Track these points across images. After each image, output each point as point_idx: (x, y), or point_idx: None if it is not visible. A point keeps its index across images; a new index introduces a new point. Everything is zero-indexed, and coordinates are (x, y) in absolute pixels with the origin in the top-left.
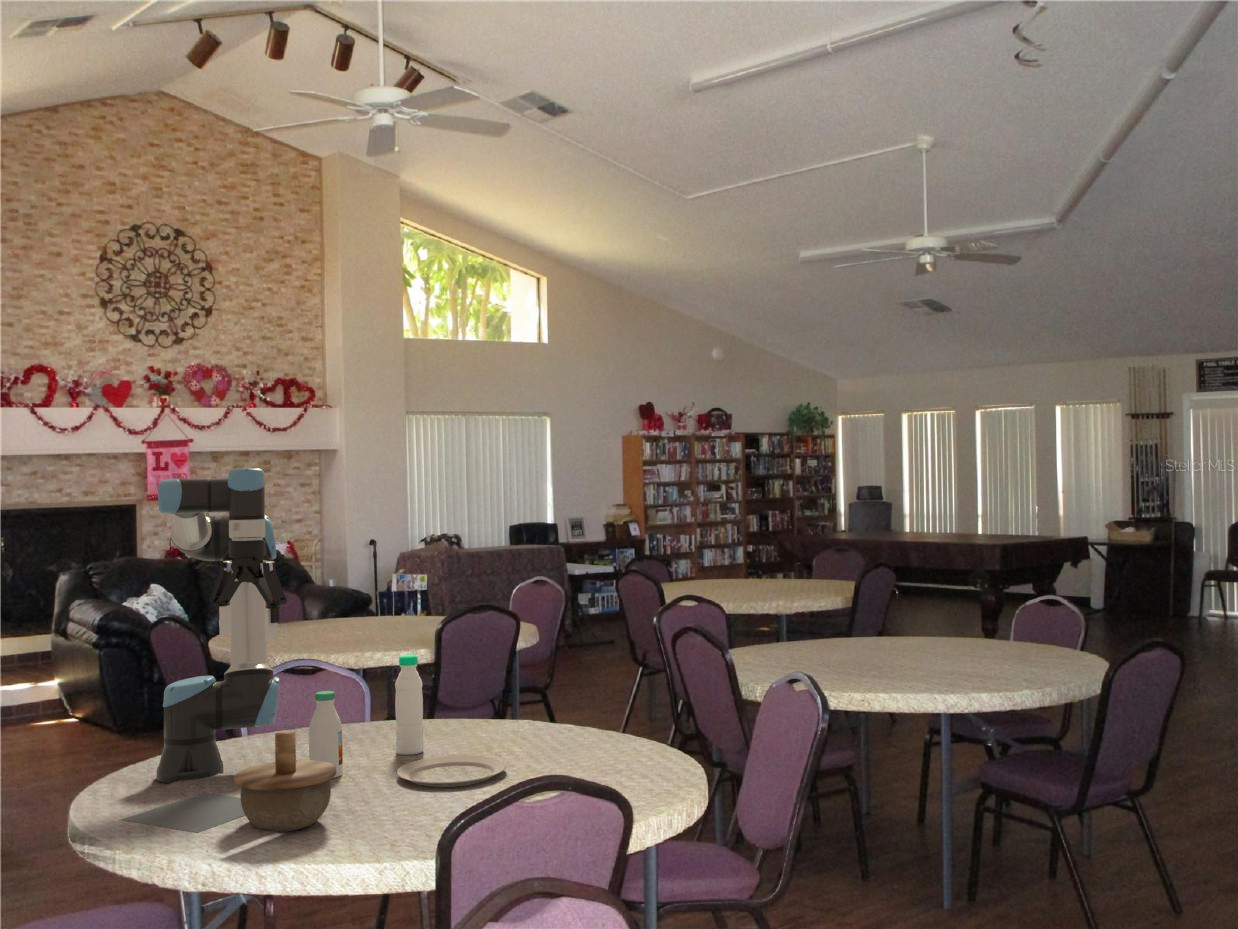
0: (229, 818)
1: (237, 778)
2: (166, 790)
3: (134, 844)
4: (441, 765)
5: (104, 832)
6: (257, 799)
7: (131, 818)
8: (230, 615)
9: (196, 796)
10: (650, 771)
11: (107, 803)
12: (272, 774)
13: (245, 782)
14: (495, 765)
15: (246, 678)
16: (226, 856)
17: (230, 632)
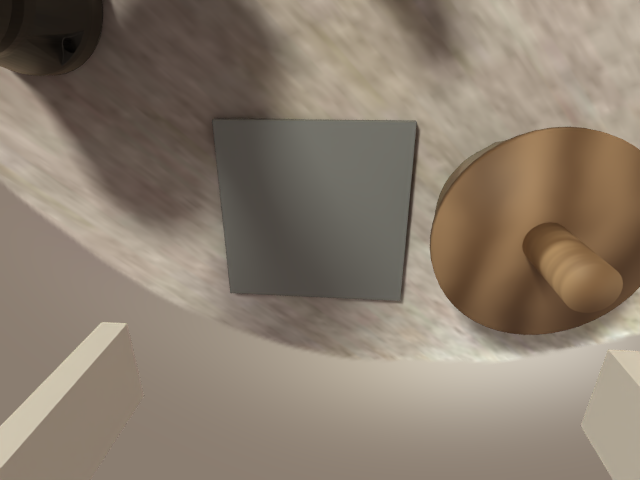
0: (395, 230)
1: (470, 312)
2: (102, 111)
3: (334, 342)
4: None
5: (245, 320)
6: None
7: (240, 284)
8: (7, 472)
9: (222, 148)
10: None
11: (98, 216)
12: (527, 267)
13: (507, 328)
14: None
15: None
16: (503, 338)
17: (118, 347)
